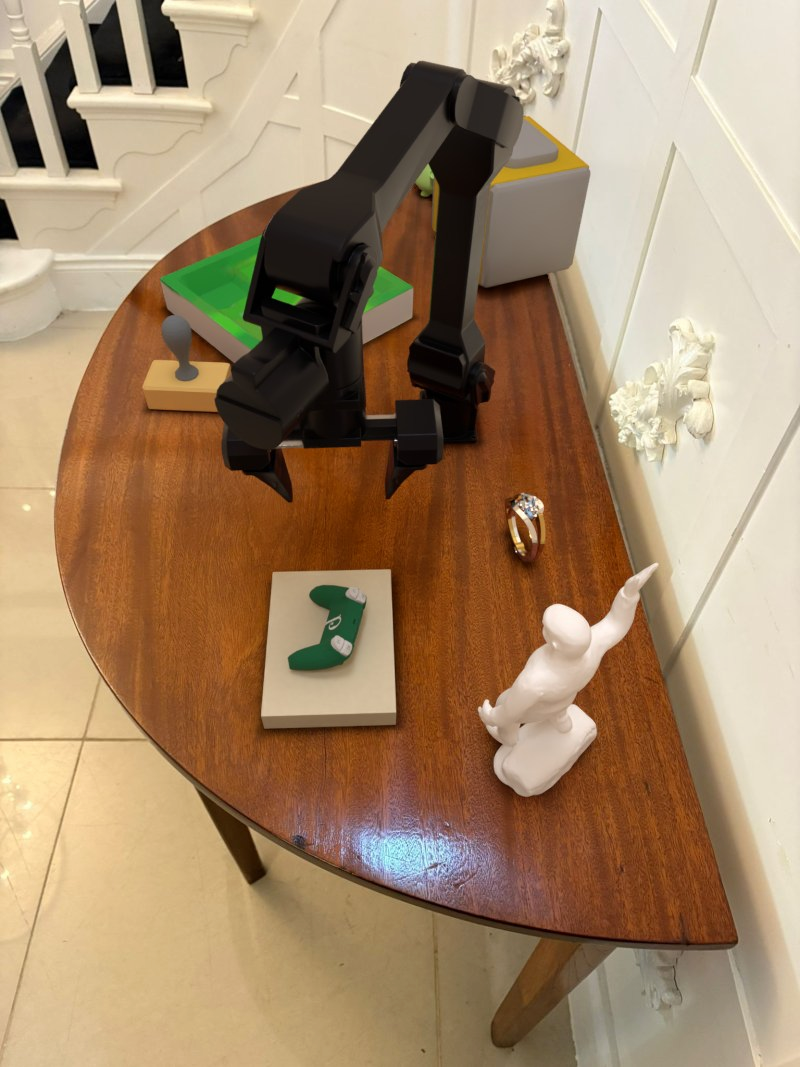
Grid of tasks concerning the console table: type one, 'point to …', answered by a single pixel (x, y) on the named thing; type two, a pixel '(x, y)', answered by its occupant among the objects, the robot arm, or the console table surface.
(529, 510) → the ring
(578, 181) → the alarm clock
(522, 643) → the console table surface
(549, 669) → the figurine
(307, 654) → the green curved piece
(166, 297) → the tray
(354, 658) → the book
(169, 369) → the rubber stamp
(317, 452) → the console table surface
